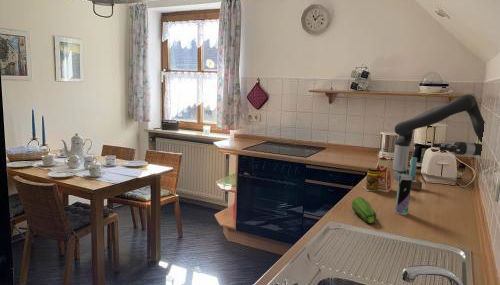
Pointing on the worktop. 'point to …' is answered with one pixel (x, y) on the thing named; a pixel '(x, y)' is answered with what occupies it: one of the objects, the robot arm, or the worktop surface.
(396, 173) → the sleeve
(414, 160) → the light blue flat panel
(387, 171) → the milk carton
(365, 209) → the vegetable
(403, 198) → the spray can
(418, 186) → the socket
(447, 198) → the worktop surface
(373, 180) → the condiment
